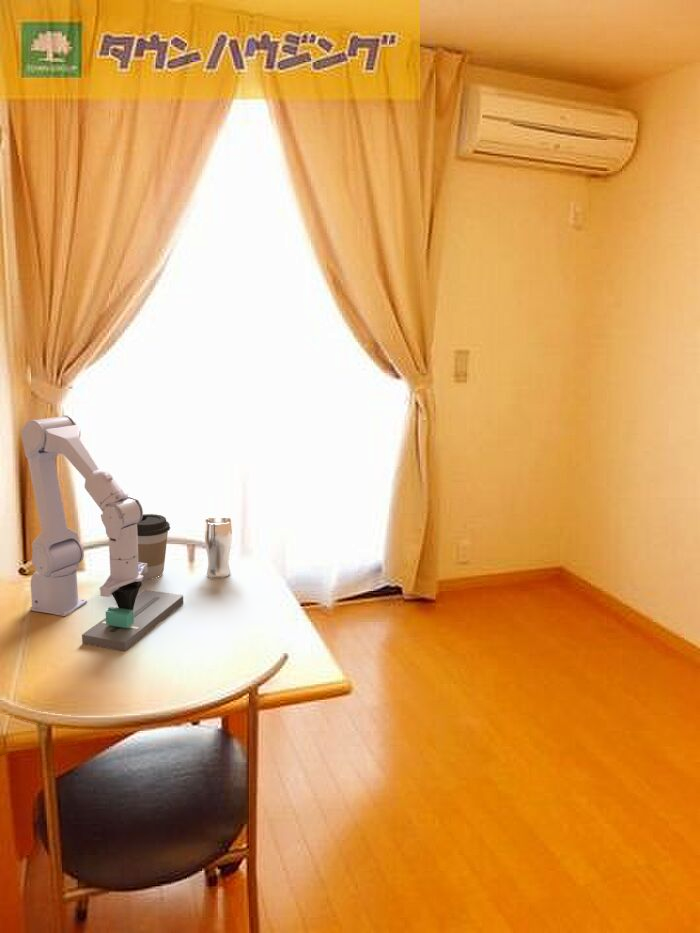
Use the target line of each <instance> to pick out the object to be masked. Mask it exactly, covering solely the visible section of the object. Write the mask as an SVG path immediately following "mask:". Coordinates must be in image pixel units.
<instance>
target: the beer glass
mask: <svg viewBox="0 0 700 933" xmlns="http://www.w3.org/2000/svg"><path fill="white" fill-rule="evenodd" d="M204 521H205V522H204V523H205V524H204V544H205V549H206V550H205V551H206V553H207V554H206V555H207V559H208V560H207V562H208V563H207V564H208V565H207V569H206V570H207V571H206V576H207V575H208V576H210V577H212V578H211V579H217V578H218V579H223V578H222V577H225V578H227V577H226V576H228V575H229V574H230V575H231V569H230V563H229V562H230V561H229V560H230V554H231V553H230V552H231V549H232V542H233V541H232V540H233V533H232V532H233V530H232V529H233V527H232V519H231V518H230V517H227V516H222V515H221V516H211V517H207V518H206V519H205V520H204ZM230 575H229V576H230ZM208 576H207V577H208ZM229 576H228V577H229ZM210 577H209V578H210Z"/></svg>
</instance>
